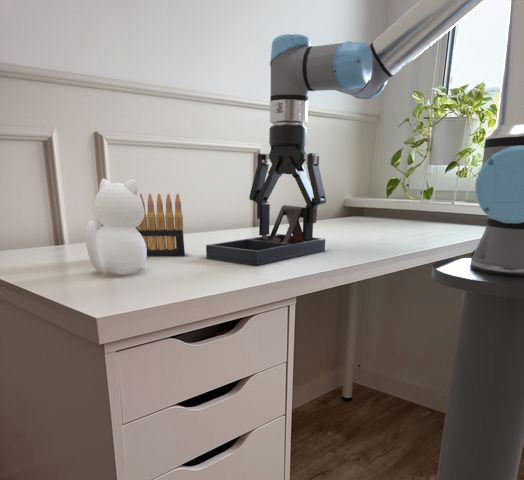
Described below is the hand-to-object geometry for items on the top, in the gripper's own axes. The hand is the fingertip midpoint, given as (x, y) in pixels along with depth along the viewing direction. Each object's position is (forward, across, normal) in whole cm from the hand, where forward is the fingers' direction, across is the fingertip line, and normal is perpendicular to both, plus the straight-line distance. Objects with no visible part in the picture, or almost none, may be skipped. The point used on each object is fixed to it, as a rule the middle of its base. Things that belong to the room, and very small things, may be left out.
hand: (285, 237), depth 111 cm
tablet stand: (+2, 0, 0) cm, 2 cm away
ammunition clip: (+3, -16, -22) cm, 27 cm away
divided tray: (+3, 0, -6) cm, 7 cm away
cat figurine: (+3, -7, -39) cm, 40 cm away
